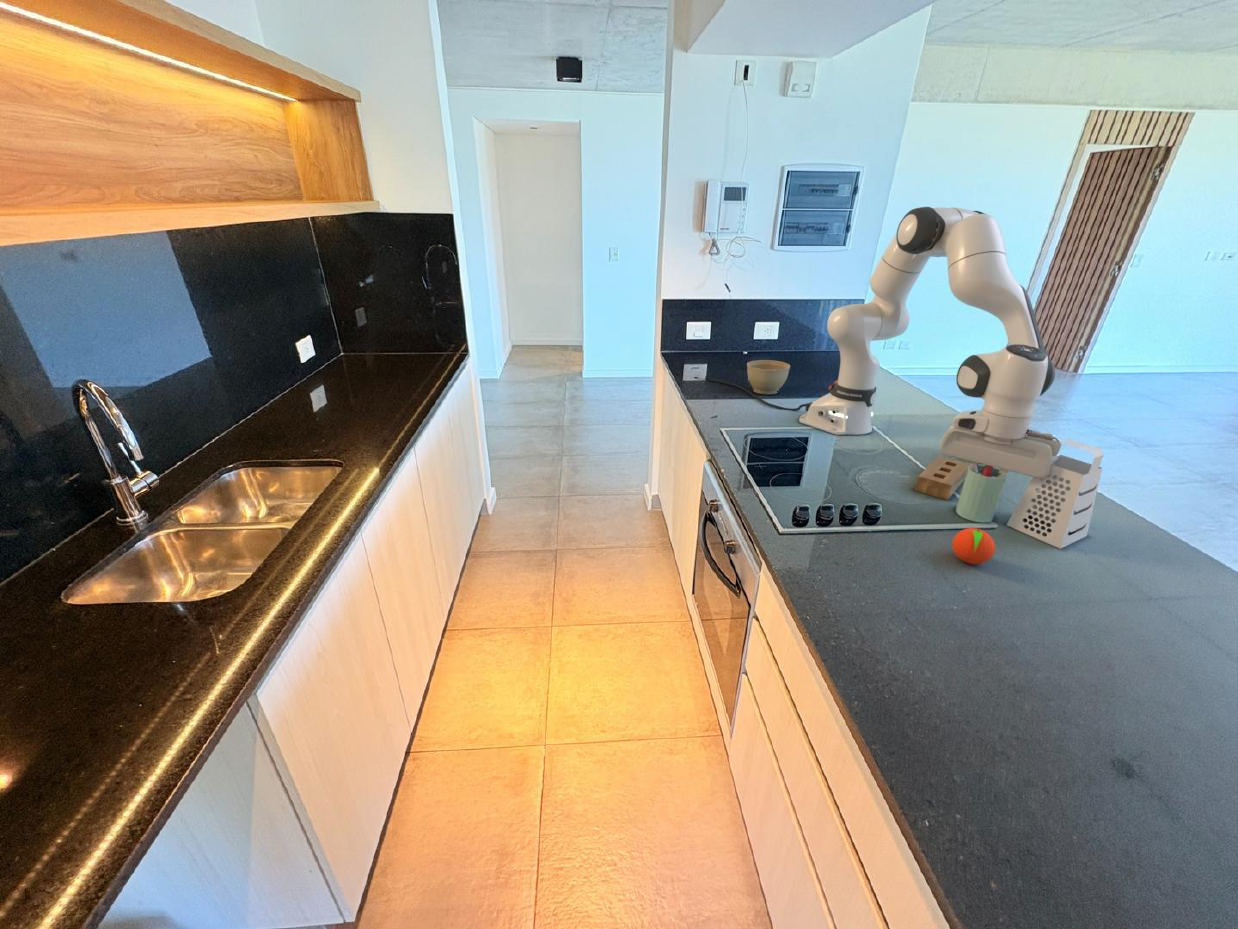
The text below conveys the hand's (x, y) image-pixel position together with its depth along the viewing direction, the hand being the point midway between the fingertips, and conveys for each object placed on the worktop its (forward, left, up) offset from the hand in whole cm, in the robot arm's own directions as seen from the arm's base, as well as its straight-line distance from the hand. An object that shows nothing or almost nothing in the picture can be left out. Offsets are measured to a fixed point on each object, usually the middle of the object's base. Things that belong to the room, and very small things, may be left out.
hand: (984, 482), depth 117 cm
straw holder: (-10, +12, -8) cm, 18 cm away
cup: (0, 0, -8) cm, 8 cm away
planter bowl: (-84, +53, -8) cm, 100 cm away
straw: (0, 0, -7) cm, 7 cm away
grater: (+13, +3, -8) cm, 16 cm away
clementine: (+4, -22, -8) cm, 24 cm away
